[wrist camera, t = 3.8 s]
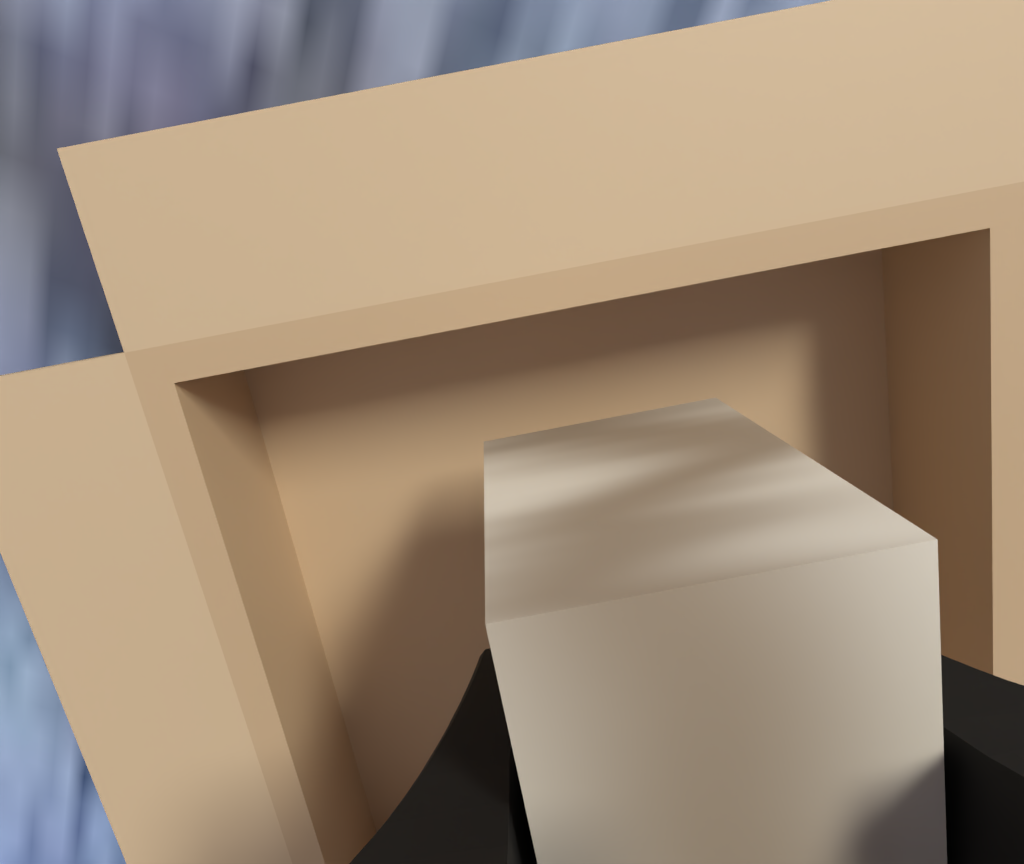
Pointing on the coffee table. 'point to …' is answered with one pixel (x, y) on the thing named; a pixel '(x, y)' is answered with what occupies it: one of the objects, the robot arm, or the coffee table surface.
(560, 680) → the block
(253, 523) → the carton
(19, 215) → the coffee table surface
